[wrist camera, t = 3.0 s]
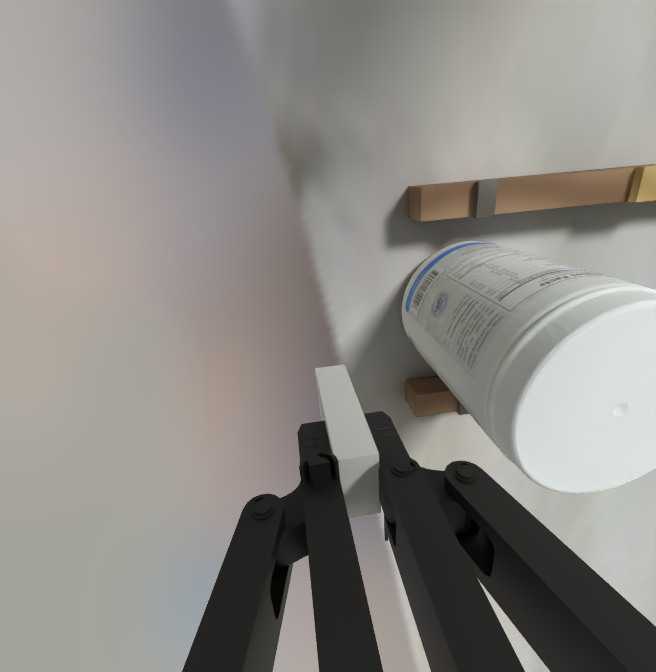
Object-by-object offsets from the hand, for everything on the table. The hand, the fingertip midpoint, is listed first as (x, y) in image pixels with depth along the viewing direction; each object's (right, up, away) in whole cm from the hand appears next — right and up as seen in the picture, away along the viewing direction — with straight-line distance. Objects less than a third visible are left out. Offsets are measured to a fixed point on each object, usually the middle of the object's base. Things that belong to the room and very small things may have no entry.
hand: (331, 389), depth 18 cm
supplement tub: (+10, +6, +10) cm, 15 cm away
